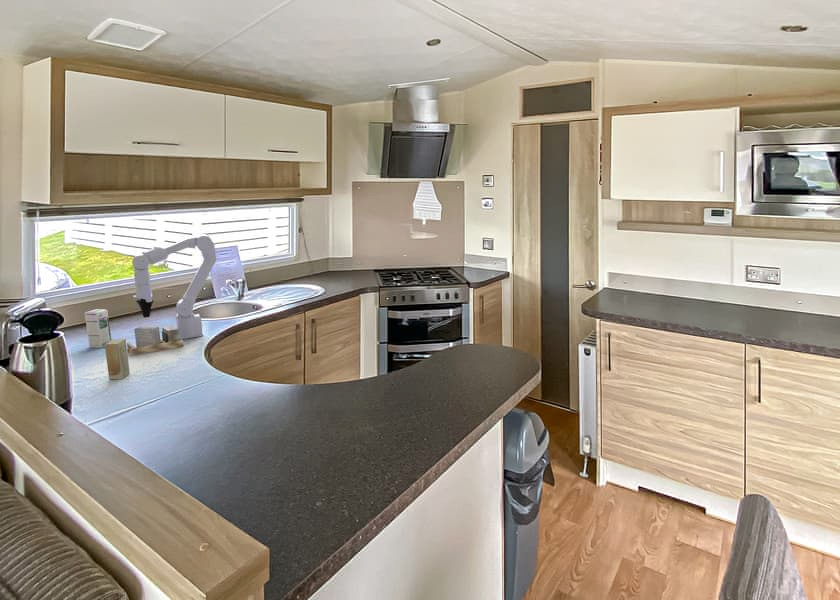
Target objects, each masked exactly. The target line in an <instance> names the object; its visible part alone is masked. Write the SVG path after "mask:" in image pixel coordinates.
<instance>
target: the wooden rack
mask: <svg viewBox="0 0 840 600" xmlns="http://www.w3.org/2000/svg"><path fill="white" fill-rule="evenodd" d="M160 339H161V344H155V345H149V346H143V347H136V346H134V345H133V344H132V343H131V342H129V343H127V342H126V346H127V351H129V353H130V356H135V355H142V354H147V353H152V352H154V353H155V352H159V351H163V350H169V349H175V348H176V349H177V348H181V347H185V345H184V339H179V329H178V328H177V326H174V325H167V326H161V338H160Z"/></svg>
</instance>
